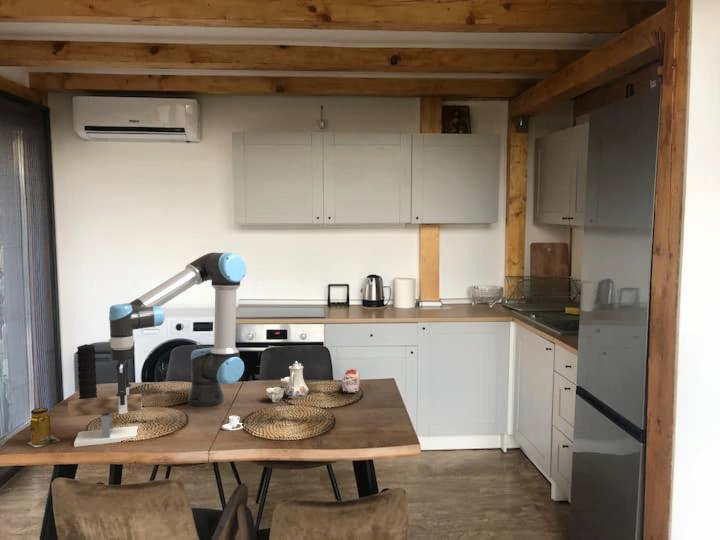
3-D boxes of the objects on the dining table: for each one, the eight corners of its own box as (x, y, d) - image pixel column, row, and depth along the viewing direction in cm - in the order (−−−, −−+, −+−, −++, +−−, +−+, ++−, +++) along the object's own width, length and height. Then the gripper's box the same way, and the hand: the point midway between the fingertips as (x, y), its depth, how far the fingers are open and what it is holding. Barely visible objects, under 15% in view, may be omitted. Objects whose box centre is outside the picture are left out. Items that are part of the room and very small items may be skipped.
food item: (359, 394, 261) (359, 373, 260) (341, 394, 261) (341, 373, 260) (360, 386, 274) (360, 365, 274) (343, 386, 275) (343, 365, 274)
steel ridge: (112, 429, 214) (111, 408, 213) (109, 437, 205) (108, 415, 204) (104, 430, 213) (104, 408, 212) (101, 438, 204) (101, 416, 204)
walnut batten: (142, 406, 213) (141, 393, 213) (141, 410, 210) (140, 396, 209) (70, 413, 207) (69, 399, 207) (68, 417, 203) (67, 403, 203)
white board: (138, 429, 217) (137, 425, 217) (136, 440, 207) (136, 435, 207) (79, 435, 211) (79, 431, 211) (74, 446, 201) (74, 442, 201)
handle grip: (70, 408, 243) (91, 409, 241) (67, 346, 241) (88, 347, 239) (85, 401, 253) (106, 402, 251) (83, 341, 251) (104, 342, 249)
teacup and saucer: (223, 432, 215) (223, 422, 214) (218, 426, 222) (218, 415, 221) (246, 429, 219) (246, 418, 218) (241, 422, 226) (240, 412, 225)
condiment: (27, 443, 205) (25, 409, 204) (52, 436, 211) (50, 404, 210) (35, 448, 200) (33, 413, 199) (60, 441, 206) (59, 407, 206)
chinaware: (282, 390, 274) (278, 355, 273) (316, 388, 272) (312, 353, 271) (263, 408, 247) (259, 370, 246) (301, 406, 244) (297, 367, 243)
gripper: (113, 342, 217) (116, 401, 219) (107, 354, 197) (109, 419, 199) (135, 341, 220) (137, 399, 221) (131, 353, 199) (133, 417, 201)
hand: (124, 409), depth 210 cm, fingers open, 9 cm apart
